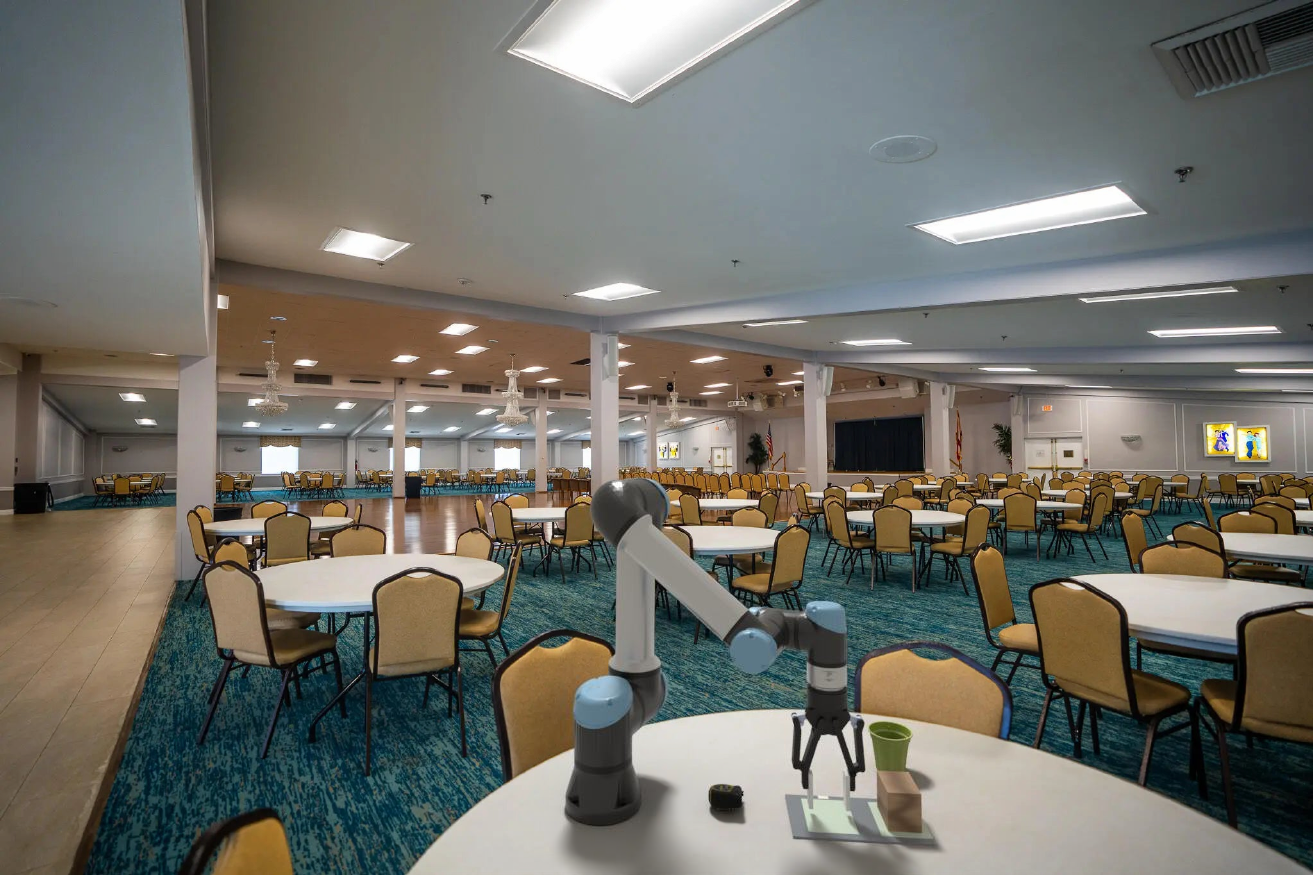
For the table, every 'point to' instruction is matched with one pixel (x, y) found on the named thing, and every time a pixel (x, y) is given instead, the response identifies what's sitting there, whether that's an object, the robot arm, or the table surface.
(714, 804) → the tape measure
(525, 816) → the table surface
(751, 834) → the table surface
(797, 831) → the grey flat panel
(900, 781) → the walnut block
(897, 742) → the plant pot
